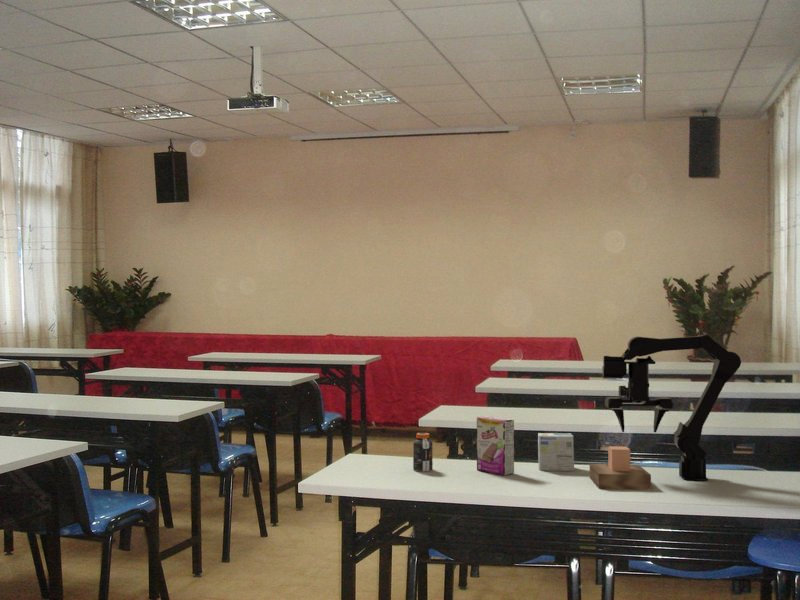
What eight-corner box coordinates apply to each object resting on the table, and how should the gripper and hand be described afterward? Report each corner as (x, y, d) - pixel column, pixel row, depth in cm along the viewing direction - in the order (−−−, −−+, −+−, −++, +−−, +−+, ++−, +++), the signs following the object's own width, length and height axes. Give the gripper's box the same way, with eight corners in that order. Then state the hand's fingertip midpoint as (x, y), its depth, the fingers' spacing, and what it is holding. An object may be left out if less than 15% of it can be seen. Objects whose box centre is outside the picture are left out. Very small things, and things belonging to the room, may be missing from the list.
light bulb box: (572, 467, 242) (571, 432, 243) (574, 471, 236) (574, 436, 236) (537, 466, 243) (537, 432, 244) (539, 470, 237) (538, 435, 237)
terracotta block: (626, 467, 221) (626, 446, 221) (630, 471, 216) (630, 449, 216) (608, 467, 221) (608, 446, 221) (612, 471, 216) (612, 449, 216)
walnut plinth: (638, 478, 225) (638, 464, 225) (651, 489, 211) (650, 474, 211) (589, 477, 226) (589, 464, 226) (599, 488, 212) (598, 474, 212)
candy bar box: (475, 470, 237) (475, 417, 237) (486, 468, 241) (486, 415, 241) (504, 476, 229) (504, 420, 229) (515, 473, 232) (514, 419, 233)
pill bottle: (433, 472, 235) (433, 434, 235) (413, 472, 235) (413, 434, 235) (432, 468, 241) (431, 431, 241) (413, 468, 241) (412, 431, 241)
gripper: (663, 377, 236) (663, 428, 236) (601, 376, 237) (601, 427, 237) (673, 380, 225) (674, 434, 225) (608, 379, 226) (609, 433, 226)
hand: (638, 432), depth 228 cm, fingers open, 9 cm apart
